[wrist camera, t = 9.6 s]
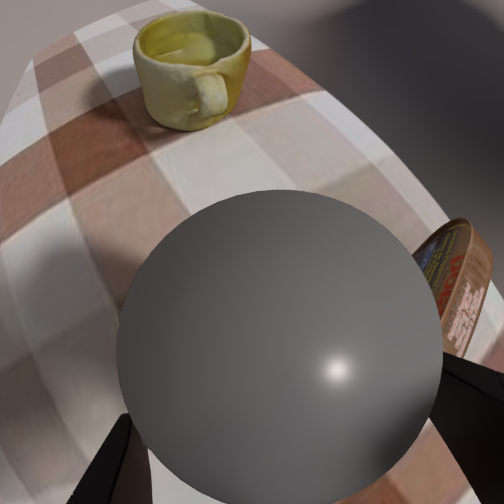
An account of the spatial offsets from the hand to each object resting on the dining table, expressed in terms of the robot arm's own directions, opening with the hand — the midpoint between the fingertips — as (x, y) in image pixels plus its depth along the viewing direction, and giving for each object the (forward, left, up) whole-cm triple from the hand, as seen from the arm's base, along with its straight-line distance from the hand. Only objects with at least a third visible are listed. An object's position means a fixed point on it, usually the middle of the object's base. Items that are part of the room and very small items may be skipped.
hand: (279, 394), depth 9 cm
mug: (+9, -21, -10) cm, 24 cm away
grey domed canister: (0, -1, -9) cm, 10 cm away
